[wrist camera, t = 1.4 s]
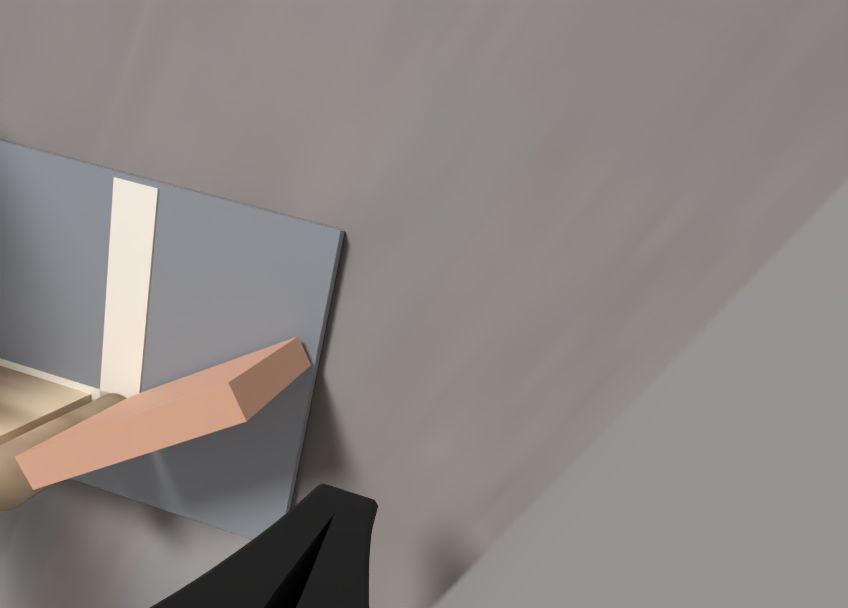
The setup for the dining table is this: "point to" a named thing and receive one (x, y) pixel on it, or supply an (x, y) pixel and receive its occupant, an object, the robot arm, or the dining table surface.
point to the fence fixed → (36, 424)
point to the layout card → (164, 318)
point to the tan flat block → (167, 414)
